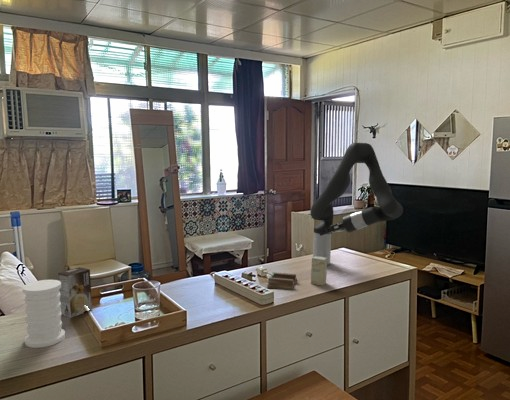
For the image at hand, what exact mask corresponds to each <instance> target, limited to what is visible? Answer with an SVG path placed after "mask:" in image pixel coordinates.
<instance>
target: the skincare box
mask: <svg viewBox="0 0 510 400" xmlns="http://www.w3.org/2000/svg"><path fill="white" fill-rule="evenodd" d="M327 268H328V265H327V258H325V257H318V256H314V257H313V256H312V257H311V273H310V284H311V285H318V286H325V285H326V283H327V271H328V270H327Z"/></svg>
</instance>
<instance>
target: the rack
mask: <svg viewBox="0 0 510 400" xmlns="http://www.w3.org/2000/svg"><path fill="white" fill-rule="evenodd" d="M267 278H268V282H267V283H268V284H267V285H266V288H267V287H269V288H268V289H276V290H277V289H279V290H289V291H292V290H293V289H294V286H295V284H296V282H297V281H298V280H297V279H298V278H297V274H296V273H286V272H285V273H284V272H273V271H272V273H271V274H270V275H269V276H268V277H267Z"/></svg>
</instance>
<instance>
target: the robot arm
mask: <svg viewBox="0 0 510 400" xmlns="http://www.w3.org/2000/svg"><path fill="white" fill-rule="evenodd" d="M345 150H346V151H345V152H344V155H343V157H342V158H341V161H340V163H339V165H338V167H337V169H336V170H335V171H334V173H333V174H332V177H330V180H329V181H328V183H327V184H326V186H325V188H324V189H323V191H322V192H321V194H320V195H319V196H318V198H317V199H316V200H315V201H314V203H313V204H312V206H311V207H310V217H311V218H312V219H313V220H315V221H320V222H319V223H318V224H317V225H315V226H314V227H313V239H312V240H313V243H312V245H313V246H312V258H313V257H314V256H318V257H325V258H327V266H329V265H331V249H332V248H331V246H332V244H331V243H332V234H334V233H339V232H340V233H341V232H344V231H346V232H347V233H352V232H356V231H359V230H361V229H364V228H366V227H369V226H371V225H374V224H376V223H380V222H381V223H382V222H388V221H392V220H396V219H398V218H399V217H401V216H402V215H403V212H404V207H403V206H402V204H401V203H399V202H398V201H397V200H396V199H395V197H394V195H393V194H392V193H393V191H392V189H391V187H390V185H389V184H388V181H387V180H386V178H385V176H384V174H383V172H382V169H381V167H380V163H379V161H378V158H377V155H376V151H375V150H374V147H373V145H372V144H370V143H367V142H352V143H351V144H350V145H348V147H347V148H346V149H345ZM355 164H365V165H366V167H367V169H368V171H369V175H368V183H369V187H370V189H371V191H372V193H373V195H374V196H375V198H376V200H377V201H376V202H377V203H378V206H379V207H376V206H370V207H368V208H365V209H362V210H358V211H355V212H353V213H350V214H346V215H344V216H342V218H341V219H342V221H338V222H336V223H334V213H335V212H334V206H333V205H332V202H334V201H336V200H337V199H339V198H340V197H341V196H343V195H344V194H345V192H346V191H347V189H348V188H349V186H350V184H351V173H350V172H351V170H352V168H353V167H354V166H355ZM333 223H334V224H333Z"/></svg>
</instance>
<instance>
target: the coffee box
mask: <svg viewBox="0 0 510 400" xmlns="http://www.w3.org/2000/svg"><path fill="white" fill-rule="evenodd" d="M57 274H58V275H57V276H58V281H60V282H61V288H60V289H59V292H60V303H61V308H60V311H61V313H62V314H61V316H65V317H67V318H70V319H72V318H75V317H78V316H80V315H83V314H84V313H83V307H84V305H86V306H88V308H89V309H90V311H93V301H92V300H93V299H92V283H91V269H89V268H86V267H80V266H78V267H75V268H71V269H68V270H64V271H61V272H60V271H59V272H58V273H57Z"/></svg>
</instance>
